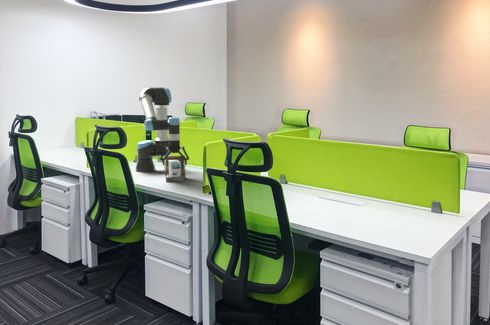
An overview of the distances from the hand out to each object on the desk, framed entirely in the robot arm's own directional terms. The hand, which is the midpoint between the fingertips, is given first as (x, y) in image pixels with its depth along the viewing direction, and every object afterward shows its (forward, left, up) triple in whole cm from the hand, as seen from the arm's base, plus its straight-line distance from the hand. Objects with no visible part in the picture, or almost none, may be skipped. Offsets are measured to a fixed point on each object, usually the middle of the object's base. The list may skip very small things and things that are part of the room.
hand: (174, 169), depth 308 cm
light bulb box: (0, 0, -4) cm, 5 cm away
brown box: (-1, 0, -7) cm, 7 cm away
